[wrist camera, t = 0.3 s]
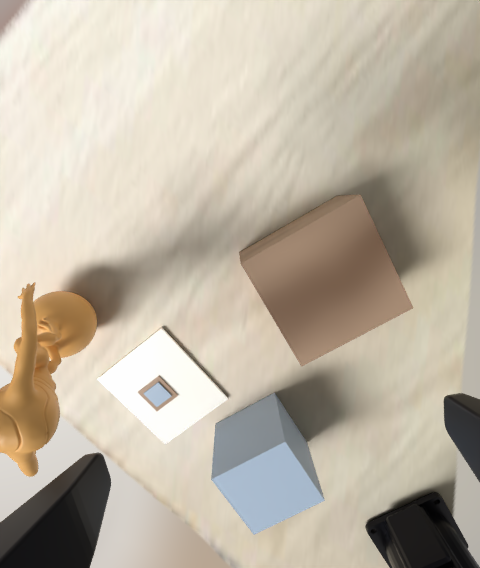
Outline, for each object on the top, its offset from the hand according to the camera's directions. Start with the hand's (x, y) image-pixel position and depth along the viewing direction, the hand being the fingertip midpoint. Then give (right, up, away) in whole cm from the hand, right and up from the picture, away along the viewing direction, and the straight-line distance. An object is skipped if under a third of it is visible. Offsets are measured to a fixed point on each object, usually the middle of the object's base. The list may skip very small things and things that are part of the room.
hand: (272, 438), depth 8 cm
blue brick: (+1, -7, +16) cm, 17 cm away
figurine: (-11, +2, +13) cm, 17 cm away
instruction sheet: (-6, -3, +15) cm, 16 cm away
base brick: (+4, +5, +13) cm, 14 cm away
